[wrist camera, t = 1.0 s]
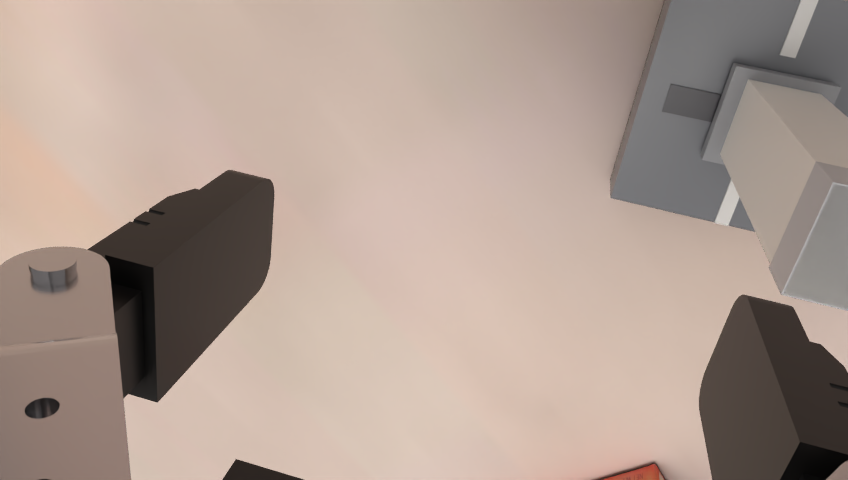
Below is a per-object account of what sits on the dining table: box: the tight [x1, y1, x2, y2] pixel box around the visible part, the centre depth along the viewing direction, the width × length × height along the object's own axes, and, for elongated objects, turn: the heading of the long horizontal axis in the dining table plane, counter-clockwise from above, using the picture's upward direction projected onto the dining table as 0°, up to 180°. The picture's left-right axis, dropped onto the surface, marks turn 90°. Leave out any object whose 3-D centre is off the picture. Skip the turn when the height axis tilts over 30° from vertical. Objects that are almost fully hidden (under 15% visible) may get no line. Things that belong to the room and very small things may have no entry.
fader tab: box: [700, 63, 848, 311], centre depth 23 cm, size 4×4×13 cm
